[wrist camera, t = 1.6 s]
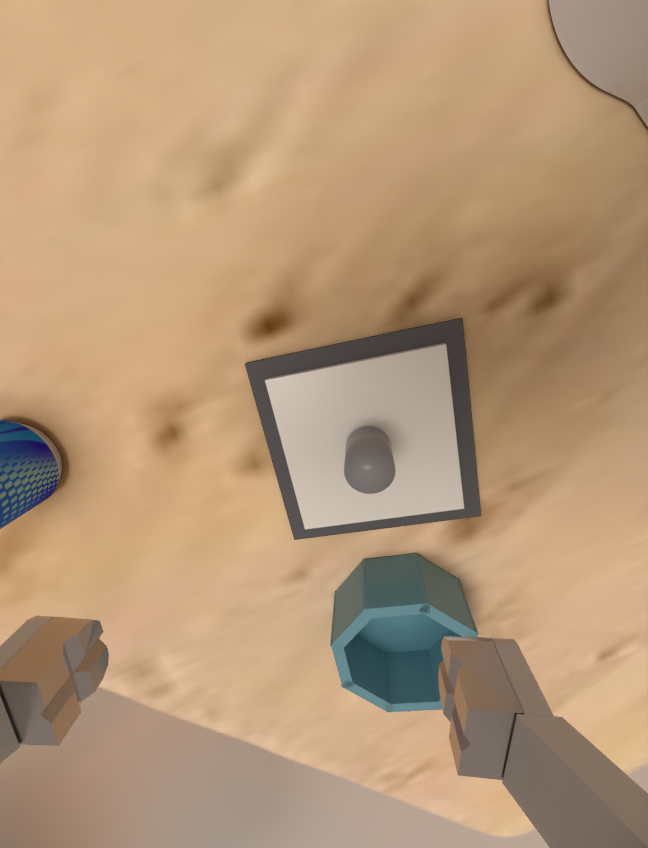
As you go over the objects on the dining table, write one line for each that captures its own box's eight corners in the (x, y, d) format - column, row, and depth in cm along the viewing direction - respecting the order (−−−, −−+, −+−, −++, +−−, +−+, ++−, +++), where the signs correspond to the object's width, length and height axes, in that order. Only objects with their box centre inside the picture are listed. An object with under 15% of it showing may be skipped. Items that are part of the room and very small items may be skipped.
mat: (460, 318, 27) (462, 318, 27) (479, 512, 32) (481, 516, 32) (246, 362, 30) (244, 363, 29) (295, 536, 35) (294, 539, 35)
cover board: (443, 342, 28) (462, 353, 23) (461, 503, 32) (480, 542, 27) (267, 378, 30) (248, 394, 25) (306, 524, 34) (297, 563, 29)
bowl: (455, 547, 34) (474, 598, 28) (467, 646, 38) (486, 707, 32) (327, 562, 36) (321, 612, 30) (350, 654, 39) (349, 714, 34)
